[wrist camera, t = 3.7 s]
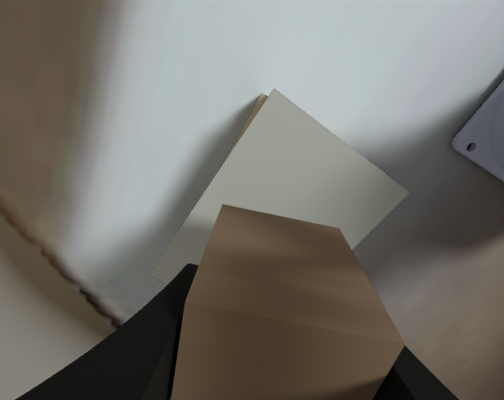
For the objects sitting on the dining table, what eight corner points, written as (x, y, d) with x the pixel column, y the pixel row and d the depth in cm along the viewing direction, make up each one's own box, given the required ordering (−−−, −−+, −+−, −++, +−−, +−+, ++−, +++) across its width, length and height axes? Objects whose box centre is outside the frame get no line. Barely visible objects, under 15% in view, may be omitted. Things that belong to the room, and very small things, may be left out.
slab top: (387, 177, 15) (409, 192, 13) (262, 309, 19) (262, 339, 16) (273, 89, 14) (274, 88, 11) (164, 251, 17) (148, 275, 15)
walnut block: (339, 228, 10) (405, 344, 5) (306, 316, 12) (334, 463, 7) (222, 204, 10) (185, 301, 5) (205, 297, 11) (165, 434, 7)
